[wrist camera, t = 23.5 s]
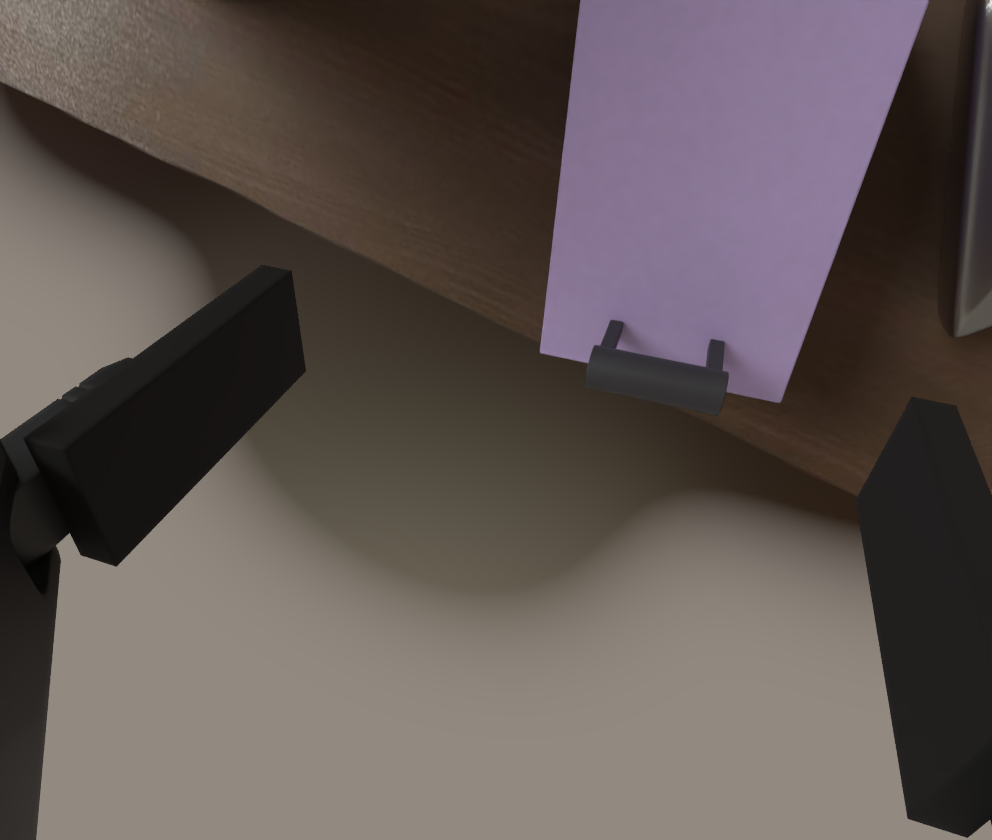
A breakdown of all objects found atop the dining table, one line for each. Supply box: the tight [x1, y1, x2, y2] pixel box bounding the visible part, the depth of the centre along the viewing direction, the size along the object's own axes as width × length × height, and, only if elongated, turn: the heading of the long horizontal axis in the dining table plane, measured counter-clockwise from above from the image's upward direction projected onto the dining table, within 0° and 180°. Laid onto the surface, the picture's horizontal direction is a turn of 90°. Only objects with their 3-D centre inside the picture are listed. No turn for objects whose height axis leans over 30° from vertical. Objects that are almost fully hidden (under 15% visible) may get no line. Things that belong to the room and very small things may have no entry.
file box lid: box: [540, 0, 929, 416], centre depth 28 cm, size 17×13×6 cm
